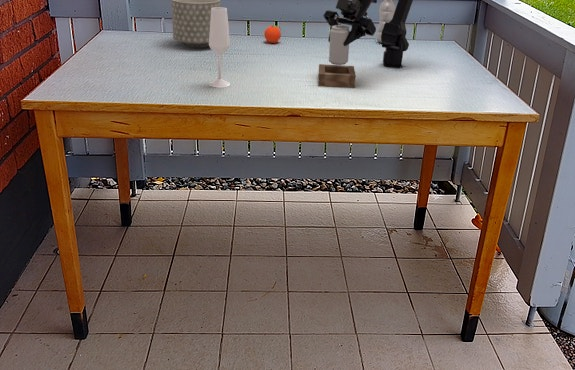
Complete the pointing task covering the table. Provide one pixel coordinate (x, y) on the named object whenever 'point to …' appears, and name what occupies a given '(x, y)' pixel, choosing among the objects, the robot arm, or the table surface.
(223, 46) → the champagne flute
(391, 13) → the plastic bottle
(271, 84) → the table surface
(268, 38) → the clementine
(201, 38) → the planter
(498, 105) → the table surface
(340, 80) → the socket block
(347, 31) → the beverage can
